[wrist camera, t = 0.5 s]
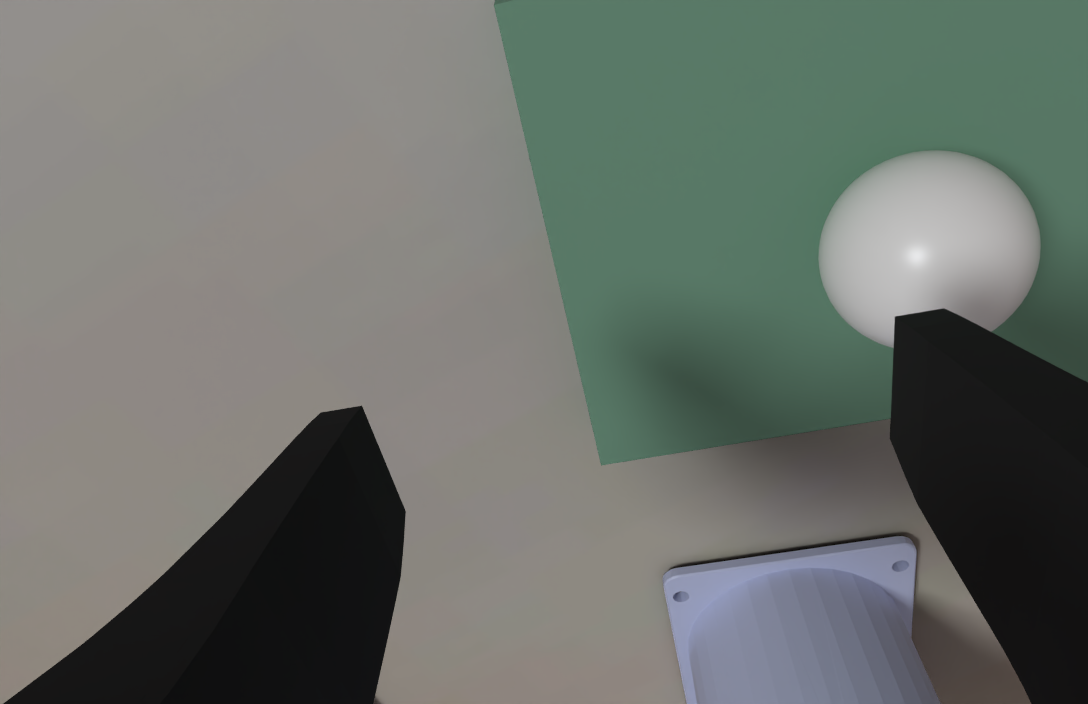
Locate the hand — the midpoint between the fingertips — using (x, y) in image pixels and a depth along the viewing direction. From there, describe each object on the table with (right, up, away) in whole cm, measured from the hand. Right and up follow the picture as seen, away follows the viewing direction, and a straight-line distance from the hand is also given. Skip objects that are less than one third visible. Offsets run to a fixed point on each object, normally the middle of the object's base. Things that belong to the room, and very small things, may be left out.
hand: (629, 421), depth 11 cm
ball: (+6, +3, +5) cm, 9 cm away
